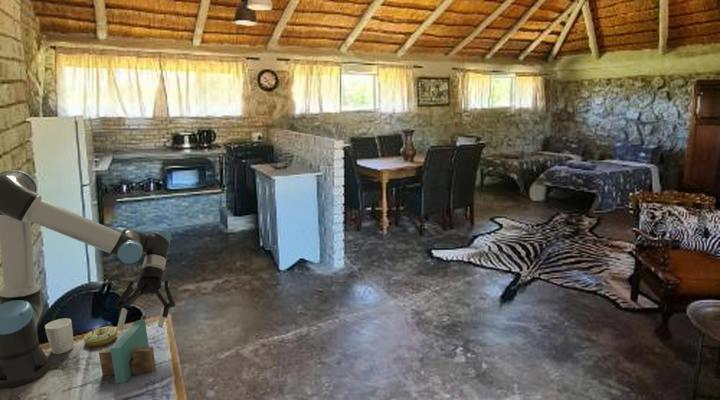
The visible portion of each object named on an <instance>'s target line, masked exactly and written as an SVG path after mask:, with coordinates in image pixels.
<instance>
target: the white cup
mask: <svg viewBox="0 0 720 400" xmlns="http://www.w3.org/2000/svg"><path fill="white" fill-rule="evenodd" d="M44 329H45V334H46V337H47V340H48V345H49V346H50V351H51V354H54V355H59V354H60V355H61V354H64V353H67V352H70V351H71V350H72V349H73V348H74V332H73V323H72V319H71V318H67V317H66V318H65V317H64V318H58V319H55V320H52V321H50V322H48V323H46V324H45V325H44Z"/></svg>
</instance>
